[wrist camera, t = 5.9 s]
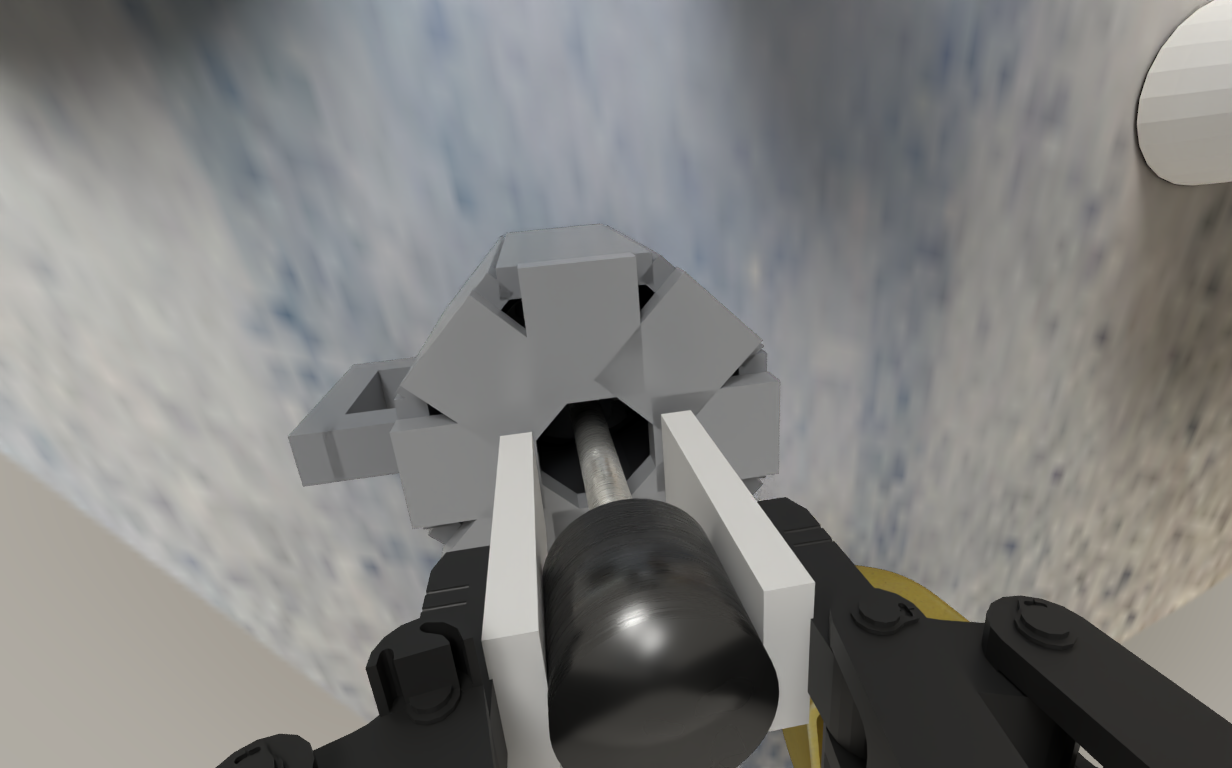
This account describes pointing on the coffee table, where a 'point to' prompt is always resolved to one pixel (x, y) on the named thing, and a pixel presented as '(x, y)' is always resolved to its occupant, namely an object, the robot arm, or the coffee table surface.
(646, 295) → the press carafe
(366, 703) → the coffee table surface
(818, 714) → the flower pot
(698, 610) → the plunger
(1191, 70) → the cup
